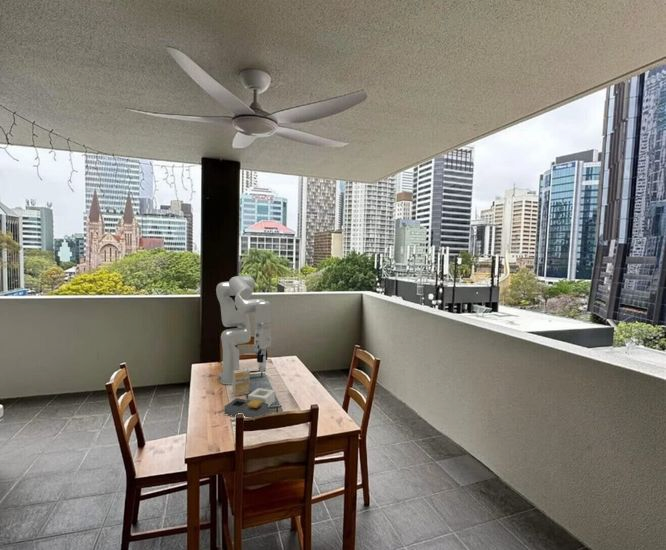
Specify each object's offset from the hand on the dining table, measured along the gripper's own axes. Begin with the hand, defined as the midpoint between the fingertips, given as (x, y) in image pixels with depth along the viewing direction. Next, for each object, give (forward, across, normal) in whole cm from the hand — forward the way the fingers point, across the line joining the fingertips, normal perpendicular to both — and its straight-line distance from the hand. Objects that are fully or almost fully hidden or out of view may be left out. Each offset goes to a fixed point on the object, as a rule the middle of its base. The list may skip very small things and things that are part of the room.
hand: (262, 360), depth 172 cm
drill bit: (+5, 0, 0) cm, 5 cm away
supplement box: (+23, +8, +17) cm, 30 cm away
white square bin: (+23, 0, 0) cm, 23 cm away
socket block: (+23, -11, +2) cm, 25 cm away
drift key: (+22, -11, -2) cm, 24 cm away
